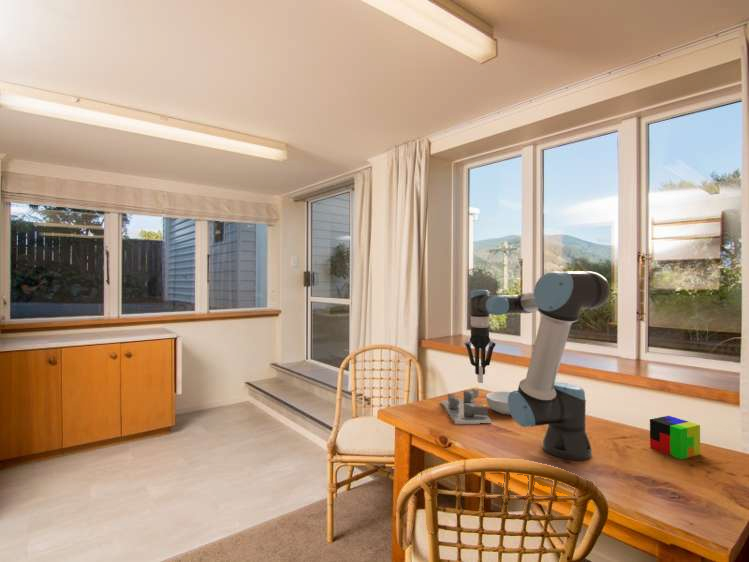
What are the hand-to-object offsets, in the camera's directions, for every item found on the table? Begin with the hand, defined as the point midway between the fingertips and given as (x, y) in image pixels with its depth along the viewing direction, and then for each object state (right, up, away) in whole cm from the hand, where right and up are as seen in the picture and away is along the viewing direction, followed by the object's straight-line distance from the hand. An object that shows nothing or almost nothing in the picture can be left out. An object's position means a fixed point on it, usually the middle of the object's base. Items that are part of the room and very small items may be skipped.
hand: (480, 382), depth 165 cm
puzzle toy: (+59, -16, -30) cm, 68 cm away
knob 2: (+2, -15, +24) cm, 28 cm away
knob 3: (-1, -15, +2) cm, 15 cm away
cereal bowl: (+15, -17, +12) cm, 25 cm away
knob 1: (-8, -15, +16) cm, 23 cm away
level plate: (-4, -17, +11) cm, 20 cm away
